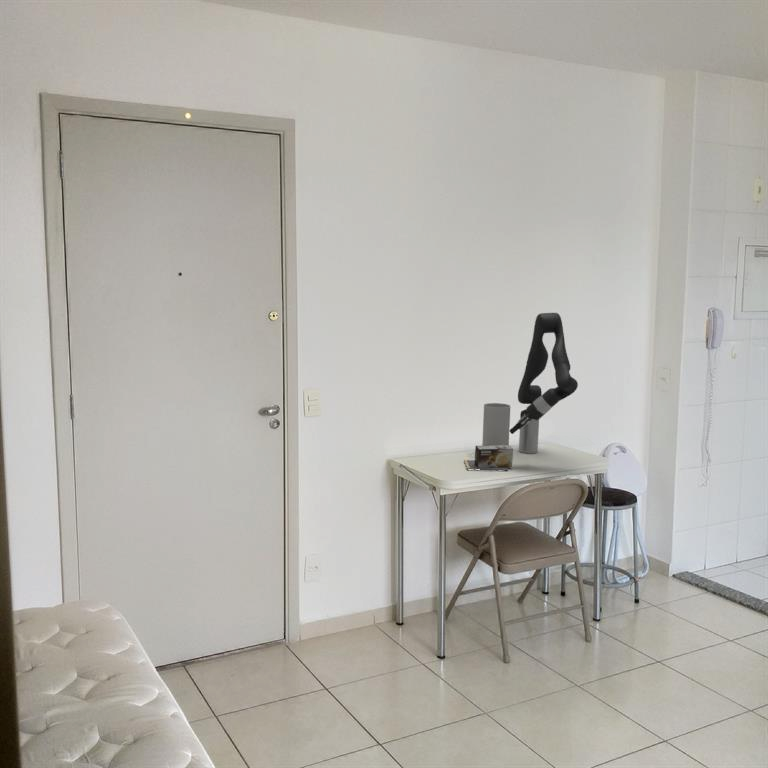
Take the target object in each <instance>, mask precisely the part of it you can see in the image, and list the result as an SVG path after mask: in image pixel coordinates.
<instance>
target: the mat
mask: <svg viewBox="0 0 768 768" xmlns="http://www.w3.org/2000/svg"><path fill="white" fill-rule="evenodd" d="M464 462H465V463H464ZM463 463H464V465H465V464H466V465H465V468H466V467H467V468H466V470H467V469H480V470H507V471H506V472H508V471H509V470H508V467H500V468H478V467H476V466H475V464H474V463H475V459H472V460H470V459H464V460H463Z"/></svg>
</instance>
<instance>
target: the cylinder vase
mask: <svg viewBox="0 0 768 768" xmlns="http://www.w3.org/2000/svg"><path fill="white" fill-rule="evenodd" d="M482 421H483V423H482V425H483V426H482V443H481V444H482V445H481V446H495V445H510V444H509V443H510V427H511V426H510V425H511V424H510V423H511V422H510V421H511V405H510V404H506V403H498V402H495V403H494V402H491V403H490V402H489V403H488V402H487V403H484V404H483V420H482Z"/></svg>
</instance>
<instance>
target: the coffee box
mask: <svg viewBox="0 0 768 768" xmlns="http://www.w3.org/2000/svg"><path fill="white" fill-rule="evenodd" d="M513 455H514V447H512V446H511V445H510V444H509V445H495V446H482V445H475V450H474V460H475V463H474V464H475V466H476V467H478V468H500V467H507V468H512V467H513V459H514V457H513Z"/></svg>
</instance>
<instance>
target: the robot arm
mask: <svg viewBox="0 0 768 768" xmlns="http://www.w3.org/2000/svg"><path fill="white" fill-rule="evenodd" d="M551 333H552V334H553V333H554V336H555V342H554V345H553V347H552V350H551V361H552V365H553V368H554V371H555V372H554V374H555V383H556V384H557V386H556V387H555V388H549V389H547V390H546V391H545V392H544V393H543V394H542V388H541V386H540V385H537V384H535V385H534V384H532V383H533V381H534V380H535V379H537V378H538V377H539V376H540V375H541V374H543V372H544V371H545V369H546V367H547V364H548V360H549V352H548V350H547V348H546V346H545V344H544V341H543V340H544V339H543V338H544V335H545V334H551ZM525 364H526V365H525V369H524V373H523V376H522V379H521V382H520V385H519V389H518V391H517V392H518V393H517V400H518V401H517V402H519V403H520V404H523V405H526V404H527V405H528V406H527V407H525V408H526V409H523V410H522V411H520V416H519V419H518V420H517V422H516V423H515V424H514V426H513V427H512V428H509V434H511V435H513V434H515V433H516V432H517V431H518V430H519V438H518V439H519V440H518V452H520V453H524V454H537V453H538V450H539V448H538V447H539V431H540V419H541V418H542V417H544V415H546V414H547V413H548V412H549V411H550V410H551V409H552V408H553V407H554V406H555V405H557V404H558V403H559V402H560V401H563V400H565V398H568V397H569V396H571V395H572V394H574V393H575V392H576V391H577V388H578V386H579V383H578V381H577V379H575V378H574V377H572V376H571V374H570V373H571V372H570V371H571V364H570V359H569V356H568V352H567V349H566V343H565V333H564V327H563V322H562V317H561V316H560V314H559V313H558V312H542V313H538V314H537V316H536V317H535V321H534V328H533V334H532V340H531V345H530V348H529V352H528V356H527V361H526V363H525Z"/></svg>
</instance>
